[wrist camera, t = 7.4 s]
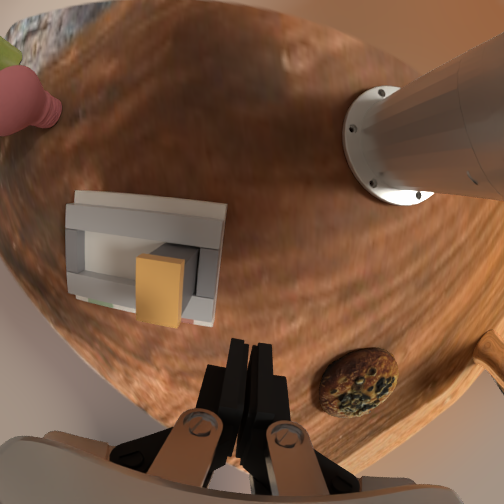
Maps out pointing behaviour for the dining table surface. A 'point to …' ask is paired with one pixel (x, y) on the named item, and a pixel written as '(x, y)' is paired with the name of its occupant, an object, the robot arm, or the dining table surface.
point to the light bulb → (25, 101)
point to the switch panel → (139, 246)
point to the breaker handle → (165, 283)
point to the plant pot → (8, 54)
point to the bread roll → (358, 382)
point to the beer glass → (491, 356)
